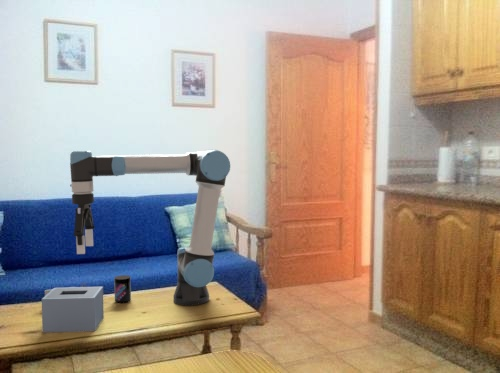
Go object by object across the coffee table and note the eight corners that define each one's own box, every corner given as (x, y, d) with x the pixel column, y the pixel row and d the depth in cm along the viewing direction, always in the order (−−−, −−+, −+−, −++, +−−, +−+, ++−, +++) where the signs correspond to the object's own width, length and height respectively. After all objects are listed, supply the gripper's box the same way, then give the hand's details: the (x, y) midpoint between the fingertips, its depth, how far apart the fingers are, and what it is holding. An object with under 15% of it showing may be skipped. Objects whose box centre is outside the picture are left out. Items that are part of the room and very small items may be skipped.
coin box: (103, 317, 182) (102, 286, 181) (95, 330, 168) (94, 297, 167) (55, 318, 180) (54, 287, 179) (42, 332, 166) (41, 299, 165)
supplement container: (112, 300, 202) (112, 276, 201) (127, 298, 206) (127, 274, 205) (117, 305, 196) (117, 280, 195) (133, 302, 200) (132, 277, 199)
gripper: (80, 190, 186) (83, 243, 188) (62, 196, 161) (65, 257, 163) (100, 189, 187) (102, 242, 189) (85, 195, 162) (88, 256, 164)
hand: (85, 249), depth 176 cm, fingers open, 13 cm apart
